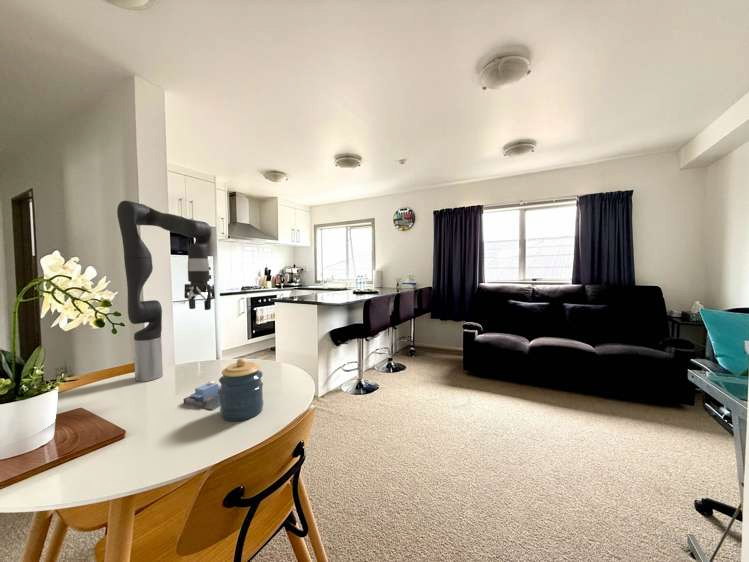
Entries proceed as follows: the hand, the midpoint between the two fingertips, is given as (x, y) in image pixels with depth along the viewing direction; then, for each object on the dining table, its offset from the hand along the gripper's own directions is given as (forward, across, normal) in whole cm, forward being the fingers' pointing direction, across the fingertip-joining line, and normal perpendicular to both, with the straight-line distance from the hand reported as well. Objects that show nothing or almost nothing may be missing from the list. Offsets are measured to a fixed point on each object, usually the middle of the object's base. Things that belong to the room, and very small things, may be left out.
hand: (200, 309), depth 123 cm
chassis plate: (+30, +19, -12) cm, 38 cm away
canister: (+30, +36, -15) cm, 49 cm away
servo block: (+30, +17, -12) cm, 37 cm away
